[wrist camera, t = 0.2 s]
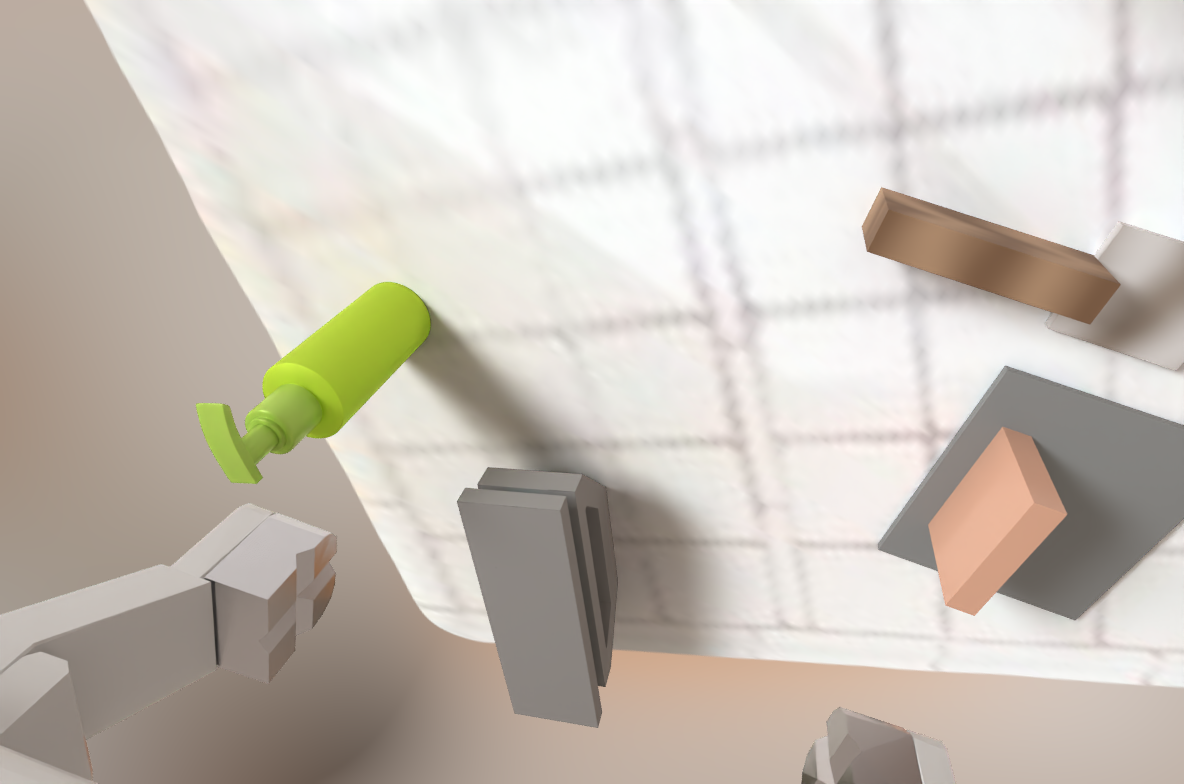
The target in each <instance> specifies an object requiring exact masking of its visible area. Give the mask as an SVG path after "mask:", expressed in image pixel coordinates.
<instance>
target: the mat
mask: <svg viewBox="0 0 1184 784" xmlns="http://www.w3.org/2000/svg"><path fill="white" fill-rule="evenodd" d="M1002 427H1005V428H1008V429H1011V430H1014V431H1017V432H1020V433H1023V434H1026V435H1029V436H1031V437H1032V439H1033V441H1034V443H1035V446H1036V448H1037V450H1038V452H1039V454H1040V456H1041V458H1042V461H1043V463H1044V465H1045V467H1046V469H1047V471H1048V473H1049V476H1050V478H1051V480H1052V482H1053V484H1054V486H1055V489H1056V491H1057V493H1058V495H1059V497H1060V499H1061V501H1062V504H1063V506H1064V508H1065V510H1066V512H1067V516H1066V517H1065V518H1064V519H1063V520H1062V521H1061V522H1060V523H1059V524H1058V525H1057V526H1056V528H1055V529H1054V530H1053V531H1052V532H1051V533H1050V534H1049V535H1048V536H1047V537H1046V538H1045V539H1044V541H1043V542H1042V543H1041V544H1040V545H1039V546H1038V547H1037V548H1036V549H1035V550H1034V551H1033V553H1032V554H1031V555H1030V556H1029V557H1028V558H1027V559H1026V560H1025V561H1024V562H1023V563H1022V565H1021V566H1020V567H1019V568H1018V569H1017V570H1016V571H1015V572H1014V573H1013V574H1012V575H1011V577H1010V578H1009V579H1008V580H1007V581H1006V582H1005V583H1004V584H1003V585H1002V586H1001V587H1000V589H999V590H998V591H997V592H998V593H1000V594H1003V595H1006V596H1009V597H1012V598H1014V599H1017V600H1020V601H1023V602H1025V603H1028V604H1031V605H1034V606H1037V607H1039V608H1042V609H1045V610H1048V611H1050V612H1053V613H1056V614H1059V615H1062V616H1064V617H1067V618H1070V619H1073V620H1076V619H1077V618H1078V617H1080V616H1081V615H1082V614H1083V613H1084V612H1085V611H1086V610H1087V609H1088V608H1089V607H1090V606H1091V605H1092V604H1093V603H1094V602H1095V601H1097V600H1098V599H1099V598H1100V597H1101V596H1102V595H1103V594H1104V593H1105V592H1106V591H1107V590H1108V589H1109V588H1110V587H1111V586H1112V585H1114V584H1115V583H1116V582H1117V581H1118V580H1119V579H1120V578H1121V577H1122V576H1123V575H1124V574H1125V573H1126V572H1127V571H1128V570H1130V569H1131V568H1132V567H1133V566H1134V565H1135V564H1136V563H1137V562H1138V561H1139V560H1140V559H1141V558H1142V557H1143V556H1144V555H1145V554H1147V553H1148V552H1149V551H1150V550H1151V549H1152V548H1153V547H1154V546H1155V545H1156V544H1157V543H1158V542H1159V541H1160V540H1161V539H1163V538H1164V537H1165V536H1166V535H1167V534H1168V533H1169V532H1170V531H1171V530H1172V529H1173V528H1174V527H1175V526H1176V525H1177V524H1178V523H1180V522H1181V521H1182V520H1183V519H1184V425H1181V424H1178V423H1175V422H1172V421H1169V420H1166V419H1163V418H1160V417H1157V416H1154V415H1151V414H1148V413H1145V412H1142V411H1139V410H1136V409H1133V408H1130V407H1127V406H1124V405H1121V404H1118V403H1115V402H1112V401H1109V400H1106V399H1103V398H1100V397H1097V396H1094V395H1091V394H1088V393H1085V392H1082V391H1079V390H1076V389H1073V388H1070V387H1067V386H1064V385H1061V384H1058V383H1055V382H1052V381H1049V380H1047V379H1044V378H1041V377H1038V376H1035V375H1032V374H1029V373H1026V372H1023V371H1020V370H1017V369H1014V368H1011V367H1008V366H1005V367H1004V368H1003V370H1002V371H1001V373H1000V374H999V375H998V377H997V378H996V380H995V381H994V382H993V384H992V385H991V387H990V388H989V389H988V391H987V392H986V394H985V395H984V396H983V398H982V399H981V401H980V402H979V403H978V405H977V406H976V408H975V409H974V410H973V412H972V413H971V415H970V416H969V417H968V419H967V420H966V422H965V423H964V424H963V426H962V427H961V429H960V430H959V431H958V433H957V434H956V436H955V437H954V438H953V440H952V441H951V443H950V444H949V445H948V447H947V448H946V450H945V451H944V452H943V454H942V455H941V457H940V458H939V459H938V461H937V462H936V464H935V465H934V466H933V468H932V469H931V471H930V472H929V473H928V475H927V476H926V478H925V479H924V480H923V482H922V483H921V485H920V486H919V487H918V489H917V490H916V492H915V493H914V494H913V496H912V497H911V499H910V500H909V501H908V503H907V504H906V506H905V507H904V508H903V510H902V511H901V513H900V514H899V515H898V517H897V518H896V520H895V521H894V522H893V524H892V525H891V527H890V528H889V529H888V531H887V532H886V534H885V535H884V536H883V538H882V539H881V541H880V542H879V543H878V550H881V551H883V552H886V553H889V554H892V555H895V556H897V557H900V558H903V559H906V560H909V561H911V562H914V563H917V564H920V565H922V566H925V567H928V568H931V569H934V570H936V571H938V568H937V564H936V559H935V555H934V550H933V545H932V541H931V536H930V531H929V527H928V524H929V523H930V522H931V520H932V519H933V518H934V516H935V515H936V514H937V512H938V511H939V510H940V508H941V507H942V506H943V504H944V503H945V502H946V500H947V499H948V498H949V497H950V495H951V494H952V493H953V491H954V490H955V489H956V487H957V486H958V485H959V483H960V482H961V481H962V479H963V478H964V477H965V475H966V474H967V473H968V471H969V470H970V469H971V467H972V466H973V465H974V464H975V462H976V461H977V460H978V458H979V457H980V456H981V454H982V453H983V452H984V450H985V449H986V448H987V446H988V445H989V444H990V442H991V441H992V440H993V438H994V437H995V436H996V435H997V433H998V432H999V431H1000V429H1001V428H1002Z"/></svg>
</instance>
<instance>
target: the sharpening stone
mask: <svg viewBox="0 0 1184 784" xmlns="http://www.w3.org/2000/svg"><path fill="white" fill-rule="evenodd" d="M477 485H478V489H473V488H465V489H464V491H463V492H462V494H461V496H460V497H459V499H458V500H457V504H458V507H459V511H460V515H461V518H462V522H463V526H464V529H465V533H466V537H467V540H468V544H469V548H470V551H471V555H472V559H473V562H474V566H475V570H476V573H477V577H478V581H479V584H480V588H481V592H482V596H483V599H484V603H485V607H486V610H487V614H488V618H489V621H490V625H491V629H492V632H493V636H494V640H495V643H496V647H497V651H498V654H499V658H500V661H501V665H502V669H503V673H504V676H505V680H506V684H507V687H508V691H509V695H510V698H511V702H512V706H513V709H514V713H515V714H521V715H526V716H532V717H538V718H544V719H550V720H555V721H561V722H567V723H573V724H578V725H584V726H590V727H596V728H598V726H599V722H600V718H601V714H602V708H601V703H600V696H599V691H598V686H603V687H606V683H607V679H608V675H609V672H610V667H611V657H612V646H613V633H614V621H615V609H616V597H617V585H618V578H617V570H616V563H615V555H614V547H613V539H612V531H611V523H610V515H609V508H608V500H607V492H606V487H605V486H603V485H601V484H600V483H598V482H596V481H594V480H592V479H590V478H588V477H587V476H585V475H583V474H573V473H559V472H545V471H531V470H517V469H503V468H489V467H488V468H487V469H486V471H485V473H484V474H483V476H482V478H481V479H480V481H479V483H478V484H477Z"/></svg>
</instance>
